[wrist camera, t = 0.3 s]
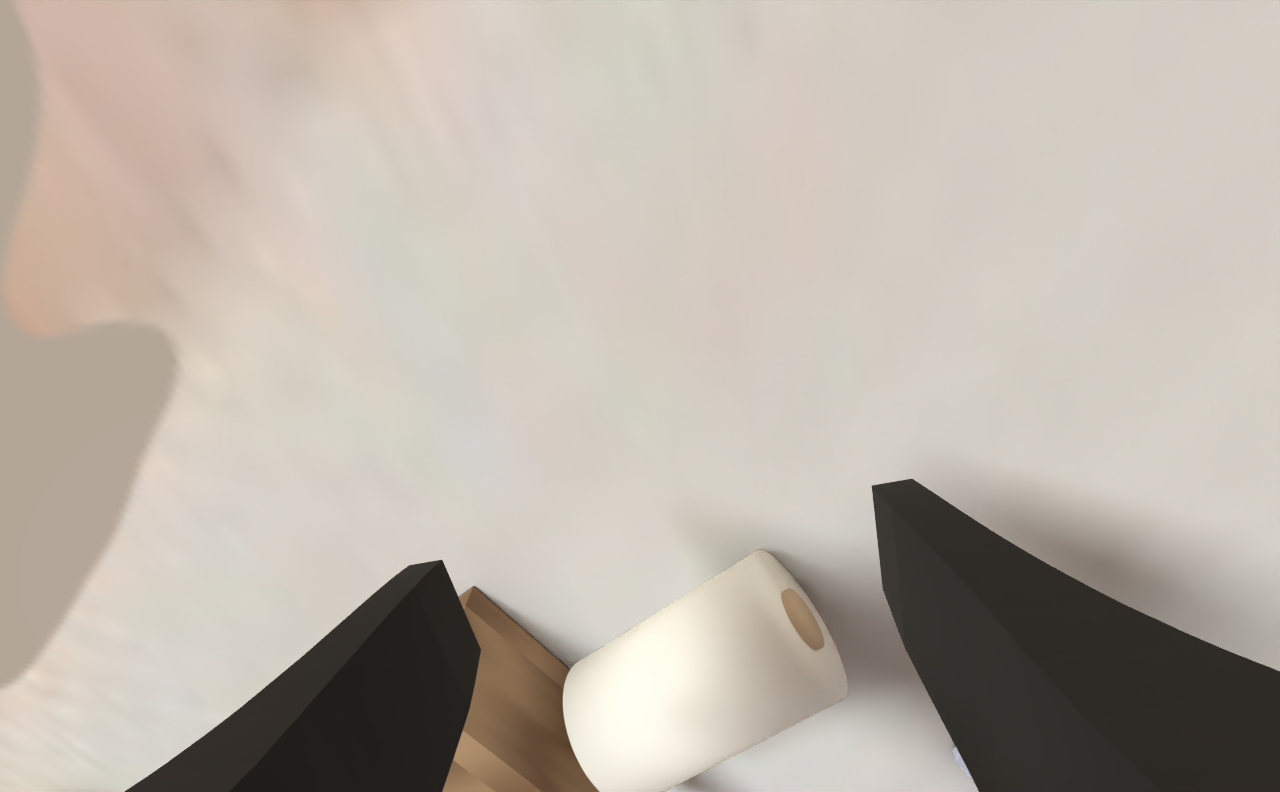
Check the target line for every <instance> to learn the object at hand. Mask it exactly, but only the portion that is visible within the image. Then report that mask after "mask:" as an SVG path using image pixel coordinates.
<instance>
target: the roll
mask: <svg viewBox="0 0 1280 792" xmlns="http://www.w3.org/2000/svg"><path fill="white" fill-rule="evenodd" d="M847 693H848V684H847V678H846V673H845V670H844V667H843V664H842V661H841V658H840V656H839V653H838V651H837V648H836V646H835V644H834V642H833V639H832V637H831V635H830V633H829V631H828V630H827V628H826V626H825V624H824V622H823V620H822V619H821V617H820V615H819V613H818V612H817V610H816V608H815V607H814V605H813V604H812V602H811V601H810V599H809V598H808V596H807V595H806V593H805V592H804V590H803V589H802V588H801V586H800V585H799V584H798V582H797V581H796V580H795V579H794V578H793V577H792V576H791V574H790V573H789V572H788V571H787V570H786V569H785V568H784V567H783V566H782V565H781V564H780V562H779V561H778V560H777V559H776V558H774V557H773V556H772V555H771V554H769V553H767V552H765V551H763V550H757V551H755V552H754V553H752V554H750V555H749V556H747V557H746V558H744V559H742V560H741V561H739V562H738V563H736V564H734V565H733V566H731V567H730V568H728V569H726V570H725V571H723V572H722V573H720V574H718V575H717V576H715V577H713V578H712V579H710V580H709V581H707V582H705V583H704V584H702V585H701V586H699V587H697V588H696V589H694V590H693V591H691V592H689V593H688V594H686V595H685V596H683V597H681V598H680V599H678V600H677V601H675V602H673V603H672V604H670V605H668V606H667V607H665V608H664V609H662V610H660V611H659V612H657V613H656V614H654V615H652V616H651V617H649V618H648V619H646V620H644V621H643V622H641V623H640V624H638V625H636V626H635V627H633V628H632V629H630V630H628V631H627V632H625V633H624V634H622V635H620V636H619V637H617V638H615V639H614V640H612V641H611V642H609V643H607V644H606V645H604V646H603V647H601V648H599V649H598V650H596V651H595V652H593V653H591V654H590V655H588V656H587V657H585V658H583V659H582V660H580V661H579V662H577V663H576V664H575V665H574V666H573V667H572V668H571V669H570V671H569V673H568V675H567V677H566V680H565V684H564V690H563V714H564V720H565V726H566V730H567V734H568V737H569V740H570V743H571V746H572V749H573V751H574V754H575V756H576V758H577V760H578V762H579V764H580V766H581V767H582V769H583V771H584V772H585V774H586V776H587V777H588V778H589V780H590V781H591V782H592V784H593V785H594V786H595V787H596V788H597V789H598V791H600V792H665V791H667V790H669V789H670V788H672V787H674V786H676V785H678V784H680V783H682V782H684V781H686V780H688V779H690V778H692V777H694V776H696V775H698V774H700V773H702V772H703V771H705V770H707V769H709V768H711V767H713V766H715V765H717V764H719V763H721V762H723V761H725V760H727V759H729V758H731V757H733V756H735V755H736V754H738V753H740V752H742V751H744V750H746V749H748V748H750V747H752V746H754V745H756V744H758V743H760V742H762V741H764V740H766V739H768V738H769V737H771V736H773V735H775V734H777V733H779V732H781V731H783V730H785V729H787V728H789V727H791V726H793V725H795V724H797V723H799V722H801V721H802V720H804V719H806V718H808V717H810V716H812V715H814V714H816V713H818V712H820V711H822V710H824V709H826V708H828V707H830V706H832V705H834V704H835V703H837V702H839V701H841V700H843V699H845V698H846V696H847Z"/></svg>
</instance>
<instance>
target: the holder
mask: <svg viewBox="0 0 1280 792" xmlns="http://www.w3.org/2000/svg"><path fill="white" fill-rule="evenodd" d="M459 600H460V602H461V604H462V607H463V609H464V611H465V614H466V616H467V618H468V620H469V623H470V625H471V627H472V630H473V632H474V634H475V637H476V639H477V641H478V643H479V646H480V648H481V653H480V659H479V665H478V670H477V676H476V682H475V686H474V691H473V696H472V700H471V705H470V709H469V712H468V716H467V719H466V722H465V725H464V728H463V731H462V734H461V737H460V740H459V743H458V746H457V750H456V753H455V756H454V759H453V762H452V765H451V767H450V770H449V773H448V776H447V779H446V782H445V785H444V788H443V791H442V792H600V791H598V789H597V788H596V787H595V786H594V785H593V784H592V782H591V781H590V780H589V778H588V777H587V776H586V774H585V772H584V771H583V769H582V767H581V766H580V764H579V762H578V760H577V758H576V756H575V754H574V751H573V749H572V746H571V743H570V740H569V737H568V734H567V730H566V726H565V720H564V714H563V690H564V684H565V680H566V677H567V675H568V673H569V671H570V670H569V669H568V668H567V667H566V666H565V665H564V664H563V663H561V662H560V661H559V660H558V659H557V658H556V657H554V656H553V655H552V654H551V653H550V652H549V651H548V650H546V649H545V648H544V647H543V646H542V645H541V644H540V643H538V642H537V641H536V640H535V639H534V638H533V637H531V636H530V635H529V634H528V633H527V632H526V631H525V630H523V629H522V628H521V627H520V626H519V625H518V624H516V623H515V622H514V621H513V620H512V619H511V618H510V617H508V616H507V615H506V614H505V613H504V612H503V611H502V610H500V609H499V608H498V607H497V606H496V605H495V604H493V603H492V602H491V601H490V600H489V599H488V598H487V597H485V596H484V595H483V594H482V593H481V592H480V591H479V590H477V589H476V588H475V587H474V586H473V587H472V588H470V589H469V590H468V591H466V592H465V593H463V594H462V595H461V596H459Z"/></svg>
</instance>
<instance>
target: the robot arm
mask: <svg viewBox="0 0 1280 792" xmlns="http://www.w3.org/2000/svg"><path fill="white" fill-rule="evenodd" d="M872 492H873V501H874V511H875V520H876V529H877V538H878V548H879V557H880V566H881V576H882V585H883V590H884V593H885V596H886V599H887V601H888V604H889V607H890V609H891V612H892V615H893V618H894V620H895V623H896V626H897V628H898V631H899V633H900V636H901V638H902V641H903V644H904V646H905V649H906V651H907V653H908V655H909V657H910V659H911V661H912V663H913V665H914V666H915V668H916V670H917V672H918V674H919V676H920V678H921V680H922V682H923V684H924V686H925V688H926V690H927V692H928V694H929V696H930V698H931V700H932V702H933V703H934V705H935V707H936V709H937V711H938V713H939V715H940V717H941V719H942V721H943V723H944V725H945V727H946V729H947V730H948V732H949V734H950V736H951V738H952V740H953V742H954V744H955V747H954V749H953V750H952V754H953V756H954V759H955V761H956V763H957V764H958V765H959V766H960V767H961V768H962V770H963V771H964V772H965V773H966V774H967V775H968V776H969V777H970V778H971V779H972V780H973V781H974V783H975V784H976V786H977V788H978V790H979V792H1280V671H1277V670H1275V669H1272V668H1270V667H1267V666H1264V665H1262V664H1259V663H1257V662H1254V661H1252V660H1249V659H1247V658H1244V657H1242V656H1239V655H1237V654H1234V653H1231V652H1229V651H1227V650H1224V649H1222V648H1219V647H1217V646H1215V645H1212V644H1210V643H1208V642H1205V641H1203V640H1201V639H1198V638H1196V637H1194V636H1191V635H1189V634H1187V633H1184V632H1182V631H1180V630H1178V629H1176V628H1174V627H1172V626H1169V625H1167V624H1165V623H1163V622H1161V621H1159V620H1156V619H1154V618H1152V617H1150V616H1148V615H1146V614H1143V613H1141V612H1139V611H1137V610H1135V609H1133V608H1130V607H1128V606H1126V605H1124V604H1122V603H1120V602H1118V601H1116V600H1114V599H1112V598H1110V597H1108V596H1106V595H1104V594H1102V593H1100V592H1098V591H1096V590H1094V589H1092V588H1090V587H1089V586H1087V585H1085V584H1083V583H1081V582H1079V581H1078V580H1076V579H1074V578H1072V577H1070V576H1068V575H1066V574H1065V573H1063V572H1061V571H1059V570H1057V569H1055V568H1054V567H1052V566H1050V565H1048V564H1046V563H1045V562H1043V561H1041V560H1039V559H1038V558H1036V557H1034V556H1032V555H1031V554H1029V553H1027V552H1026V551H1024V550H1022V549H1021V548H1019V547H1017V546H1016V545H1014V544H1012V543H1011V542H1009V541H1007V540H1006V539H1004V538H1002V537H1001V536H999V535H998V534H996V533H994V532H993V531H991V530H989V529H988V528H986V527H985V526H983V525H982V524H980V523H978V522H977V521H975V520H974V519H972V518H971V517H969V516H968V515H966V514H965V513H963V512H962V511H960V510H958V509H957V508H955V507H954V506H952V505H951V504H949V503H948V502H946V501H945V500H943V499H942V498H940V497H939V496H937V495H936V494H934V493H933V492H931V491H930V490H928V489H927V488H925V487H924V486H922V485H921V484H919V483H918V482H916V481H915V480H913V479H908V480H902V481H896V482H891V483H885V484H879V485H873V486H872ZM480 653H481V648H480V646H479V643H478V641H477V639H476V637H475V634H474V632H473V630H472V627H471V625H470V623H469V620H468V618H467V616H466V614H465V611H464V609H463V607H462V604H461V602H460V600H459V597H458V595H457V593H456V591H455V588H454V586H453V584H452V581H451V579H450V577H449V574H448V572H447V570H446V568H445V565H444V563H443V561H442V560H438V561H432V562H426V563H421V564H415V565H409V566H408V567H407V568H405V569H404V570H402V571H401V572H400V573H398V574H397V575H396V576H395V577H393V578H392V579H391V580H390V581H388V582H387V583H386V584H385V585H384V586H382V587H381V588H380V589H379V590H378V591H377V592H375V593H374V594H373V595H372V596H371V597H370V598H368V599H367V600H366V601H365V602H364V603H363V604H362V605H360V606H359V607H358V608H357V609H356V610H355V611H354V612H353V613H351V614H350V615H349V616H348V617H347V618H346V619H345V620H343V621H342V622H341V623H340V624H339V625H338V626H337V627H335V628H334V629H333V630H332V631H331V632H330V633H329V634H328V635H326V636H325V637H324V638H323V639H322V640H321V641H320V642H318V643H317V644H316V645H315V646H314V647H313V648H312V649H310V650H309V651H308V652H307V653H306V654H305V655H304V656H302V657H301V658H300V659H299V660H298V661H296V662H295V663H294V664H293V665H292V666H290V667H289V668H288V669H287V670H286V671H284V672H283V673H282V674H281V675H280V676H278V677H277V678H276V679H275V680H274V681H272V682H271V683H270V684H269V685H268V686H266V687H265V688H264V689H263V690H261V691H260V692H259V693H258V694H257V695H255V696H254V697H253V698H252V699H251V700H249V701H248V702H247V703H246V704H245V705H243V706H242V707H241V708H240V709H238V710H237V711H236V712H235V713H233V714H232V715H231V716H229V717H228V718H227V719H226V720H224V721H223V722H222V723H220V724H219V725H218V726H216V727H215V728H214V729H213V730H211V731H210V732H209V733H207V734H206V735H205V736H203V737H202V738H201V739H199V740H198V741H196V742H195V743H194V744H192V745H191V746H190V747H188V748H187V749H185V750H184V751H183V752H181V753H180V754H179V755H177V756H176V757H174V758H173V759H172V760H170V761H169V762H168V763H166V764H165V765H163V766H162V767H160V768H159V769H158V770H156V771H155V772H153V773H152V774H150V775H149V776H148V777H146V778H145V779H143V780H142V781H140V782H138V783H137V784H135V785H134V786H132V787H131V788H129V789H128V790H126V791H125V792H442V791H443V788H444V785H445V782H446V779H447V776H448V773H449V770H450V767H451V765H452V762H453V759H454V756H455V753H456V750H457V746H458V743H459V740H460V737H461V734H462V731H463V728H464V725H465V722H466V719H467V716H468V712H469V709H470V705H471V700H472V696H473V691H474V686H475V682H476V676H477V670H478V665H479V659H480Z"/></svg>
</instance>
